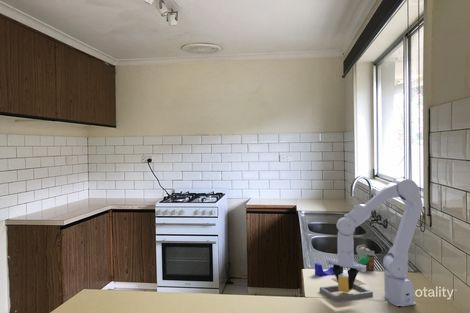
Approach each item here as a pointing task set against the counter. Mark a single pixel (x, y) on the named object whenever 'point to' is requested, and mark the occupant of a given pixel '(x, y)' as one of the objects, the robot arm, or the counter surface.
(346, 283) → the yellow and white block
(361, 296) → the parts tray
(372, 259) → the food container
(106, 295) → the counter surface
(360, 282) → the brown square tile
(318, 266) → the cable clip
